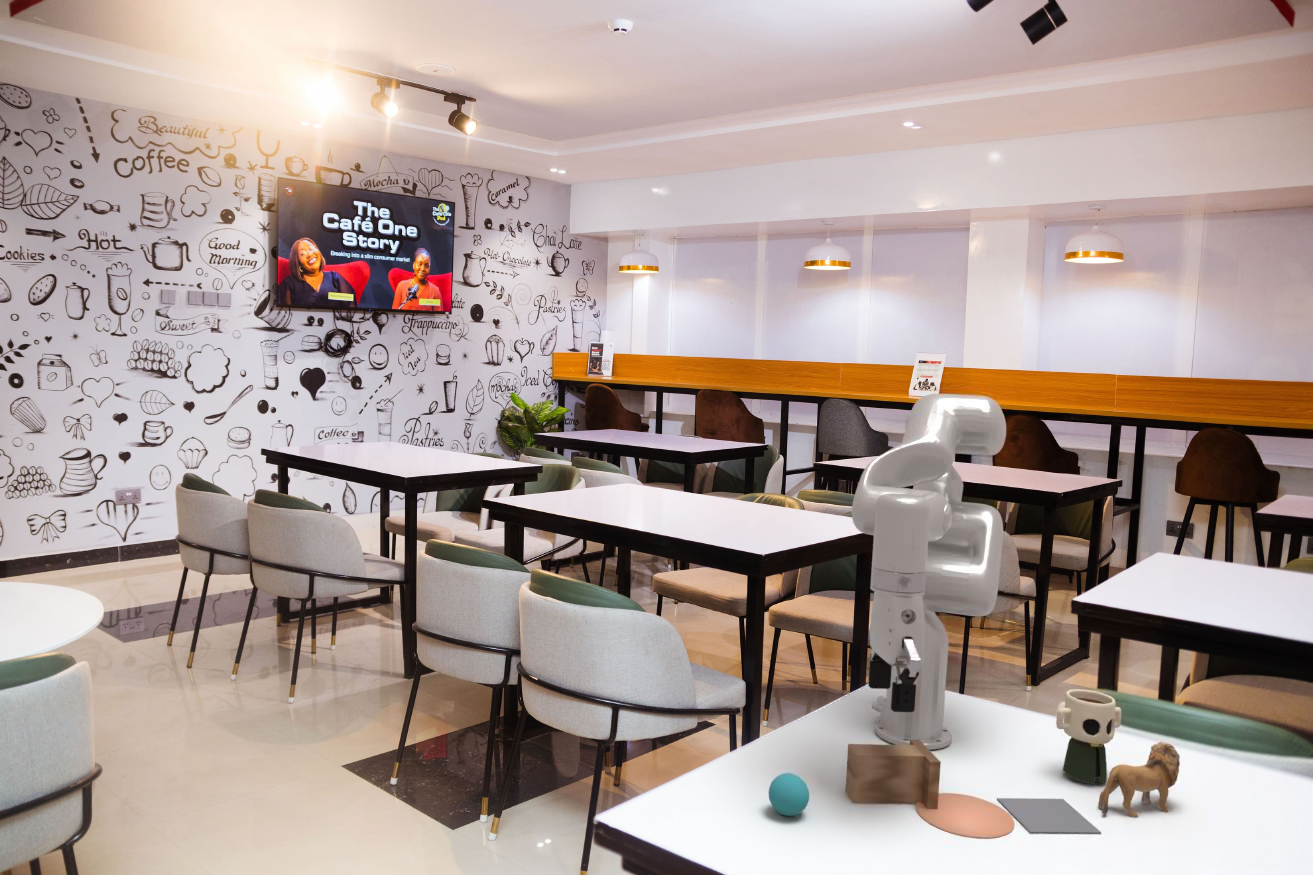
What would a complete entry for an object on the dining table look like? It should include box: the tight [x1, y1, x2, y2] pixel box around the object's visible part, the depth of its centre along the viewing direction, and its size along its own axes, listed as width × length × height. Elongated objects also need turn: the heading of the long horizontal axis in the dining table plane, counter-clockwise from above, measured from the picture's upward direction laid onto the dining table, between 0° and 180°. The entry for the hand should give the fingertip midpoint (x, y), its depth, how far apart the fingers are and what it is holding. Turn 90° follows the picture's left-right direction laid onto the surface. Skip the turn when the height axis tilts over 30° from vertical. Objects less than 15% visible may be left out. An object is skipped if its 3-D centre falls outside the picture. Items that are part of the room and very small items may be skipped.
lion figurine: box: [1097, 741, 1181, 818], centre depth 133 cm, size 15×5×9 cm, turn 118°
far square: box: [996, 797, 1102, 835], centre depth 129 cm, size 10×10×1 cm
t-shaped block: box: [844, 740, 942, 809], centre depth 133 cm, size 12×8×7 cm
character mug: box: [1055, 688, 1122, 784], centre depth 143 cm, size 11×7×13 cm, turn 100°
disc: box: [915, 792, 1015, 839], centre depth 128 cm, size 13×13×1 cm
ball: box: [768, 772, 810, 817], centre depth 126 cm, size 6×6×6 cm
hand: (890, 699), depth 132 cm, fingers open, 9 cm apart
